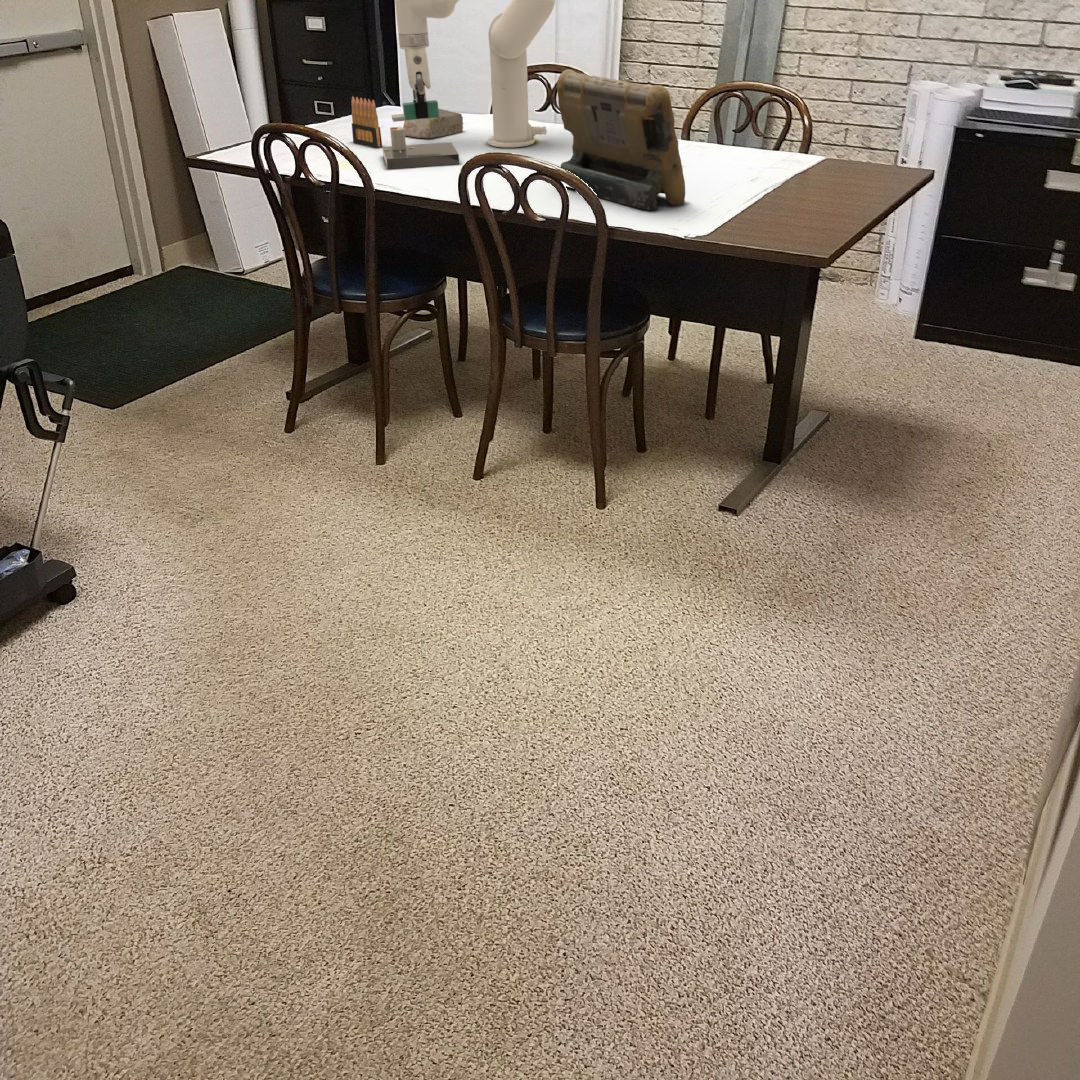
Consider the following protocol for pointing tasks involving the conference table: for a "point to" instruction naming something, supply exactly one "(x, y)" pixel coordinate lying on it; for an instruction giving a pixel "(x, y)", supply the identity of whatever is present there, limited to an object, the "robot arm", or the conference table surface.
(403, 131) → the dial
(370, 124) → the ammunition clip
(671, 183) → the tablet
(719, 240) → the conference table surface
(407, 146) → the hob
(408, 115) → the teal post
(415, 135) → the geological specimen
